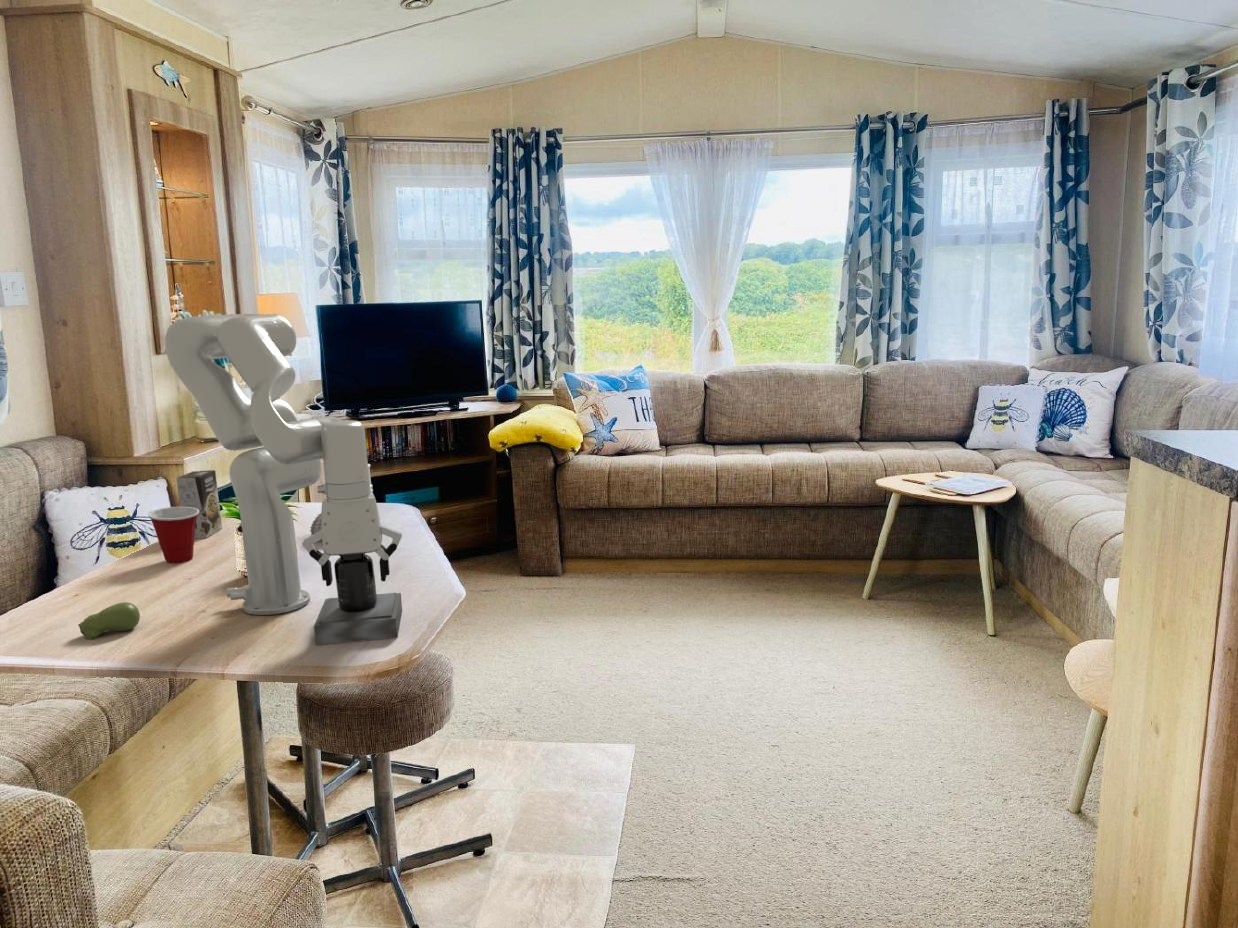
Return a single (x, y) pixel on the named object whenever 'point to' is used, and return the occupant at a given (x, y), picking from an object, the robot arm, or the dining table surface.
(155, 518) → the plastic cup
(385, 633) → the grey square block
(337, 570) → the supplement bottle
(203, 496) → the coffee box
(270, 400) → the robot arm
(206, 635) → the dining table surface
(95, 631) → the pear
